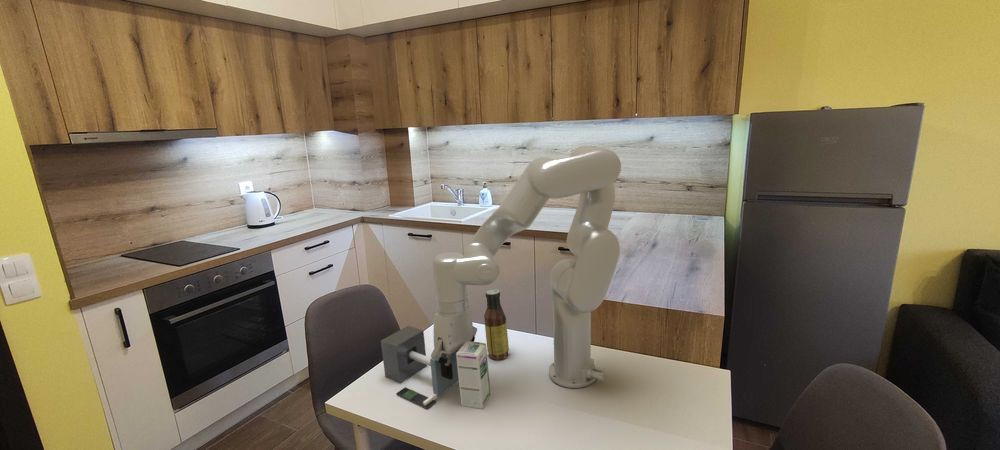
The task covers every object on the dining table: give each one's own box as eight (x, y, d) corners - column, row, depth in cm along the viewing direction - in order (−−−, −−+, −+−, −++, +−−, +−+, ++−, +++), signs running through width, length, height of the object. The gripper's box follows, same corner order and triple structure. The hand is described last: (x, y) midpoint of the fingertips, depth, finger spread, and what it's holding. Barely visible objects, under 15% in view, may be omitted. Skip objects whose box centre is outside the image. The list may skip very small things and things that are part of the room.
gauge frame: (464, 380, 118) (462, 343, 115) (427, 409, 107) (423, 368, 104) (412, 360, 129) (408, 325, 127) (373, 384, 118) (368, 347, 116)
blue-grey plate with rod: (463, 377, 118) (461, 342, 115) (426, 405, 107) (422, 368, 104) (424, 361, 126) (421, 329, 124) (385, 387, 115) (381, 352, 113)
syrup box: (482, 409, 106) (479, 354, 102) (460, 405, 108) (455, 352, 104) (490, 395, 111) (487, 342, 108) (468, 392, 113) (464, 340, 109)
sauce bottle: (513, 352, 130) (509, 289, 126) (501, 363, 125) (498, 297, 120) (494, 347, 134) (490, 285, 129) (482, 357, 129) (478, 293, 124)
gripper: (463, 288, 116) (467, 350, 120) (414, 314, 102) (421, 383, 106) (486, 294, 111) (490, 358, 115) (439, 321, 98) (445, 392, 102)
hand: (457, 369), depth 111 cm, fingers open, 7 cm apart
